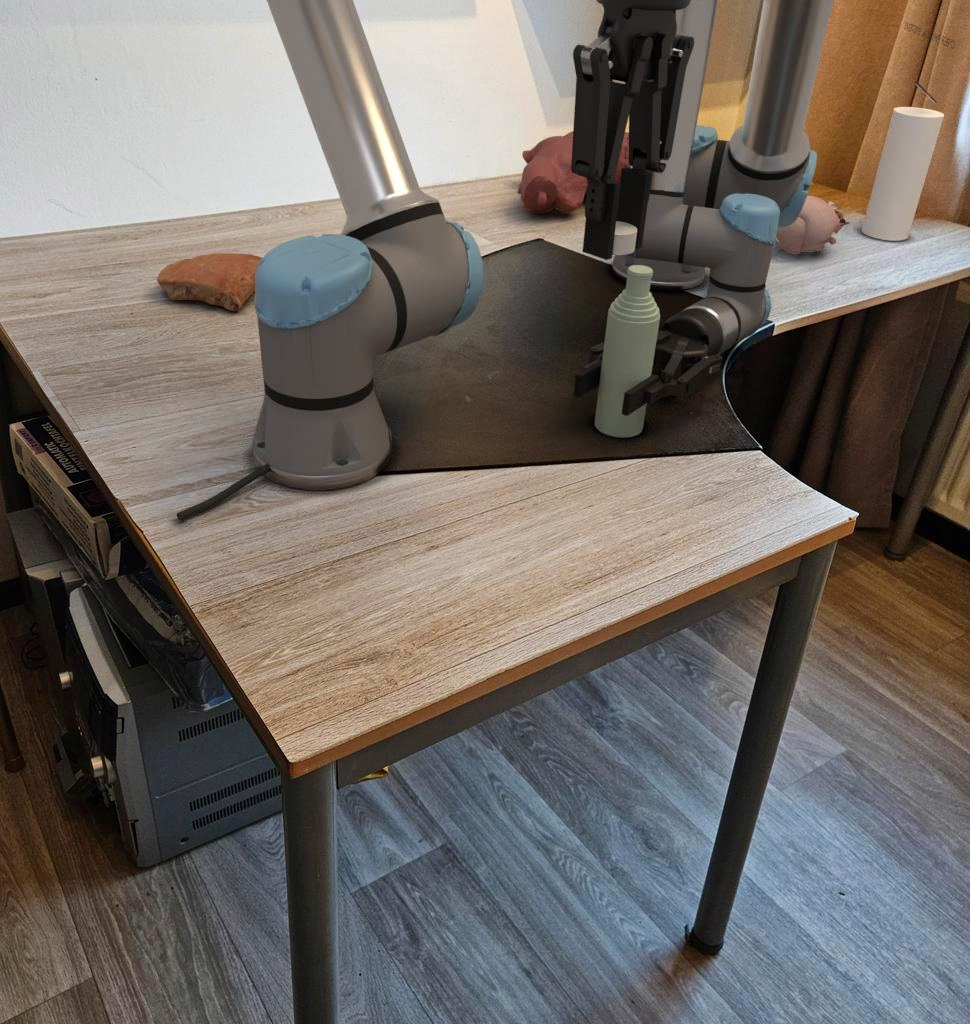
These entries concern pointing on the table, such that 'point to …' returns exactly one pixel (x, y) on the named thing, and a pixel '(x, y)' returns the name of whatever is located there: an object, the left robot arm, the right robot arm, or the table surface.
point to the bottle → (627, 353)
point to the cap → (624, 239)
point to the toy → (812, 227)
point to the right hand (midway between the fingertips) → (601, 395)
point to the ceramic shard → (212, 279)
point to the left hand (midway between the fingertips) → (612, 249)
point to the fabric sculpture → (557, 175)
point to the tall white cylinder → (902, 168)
